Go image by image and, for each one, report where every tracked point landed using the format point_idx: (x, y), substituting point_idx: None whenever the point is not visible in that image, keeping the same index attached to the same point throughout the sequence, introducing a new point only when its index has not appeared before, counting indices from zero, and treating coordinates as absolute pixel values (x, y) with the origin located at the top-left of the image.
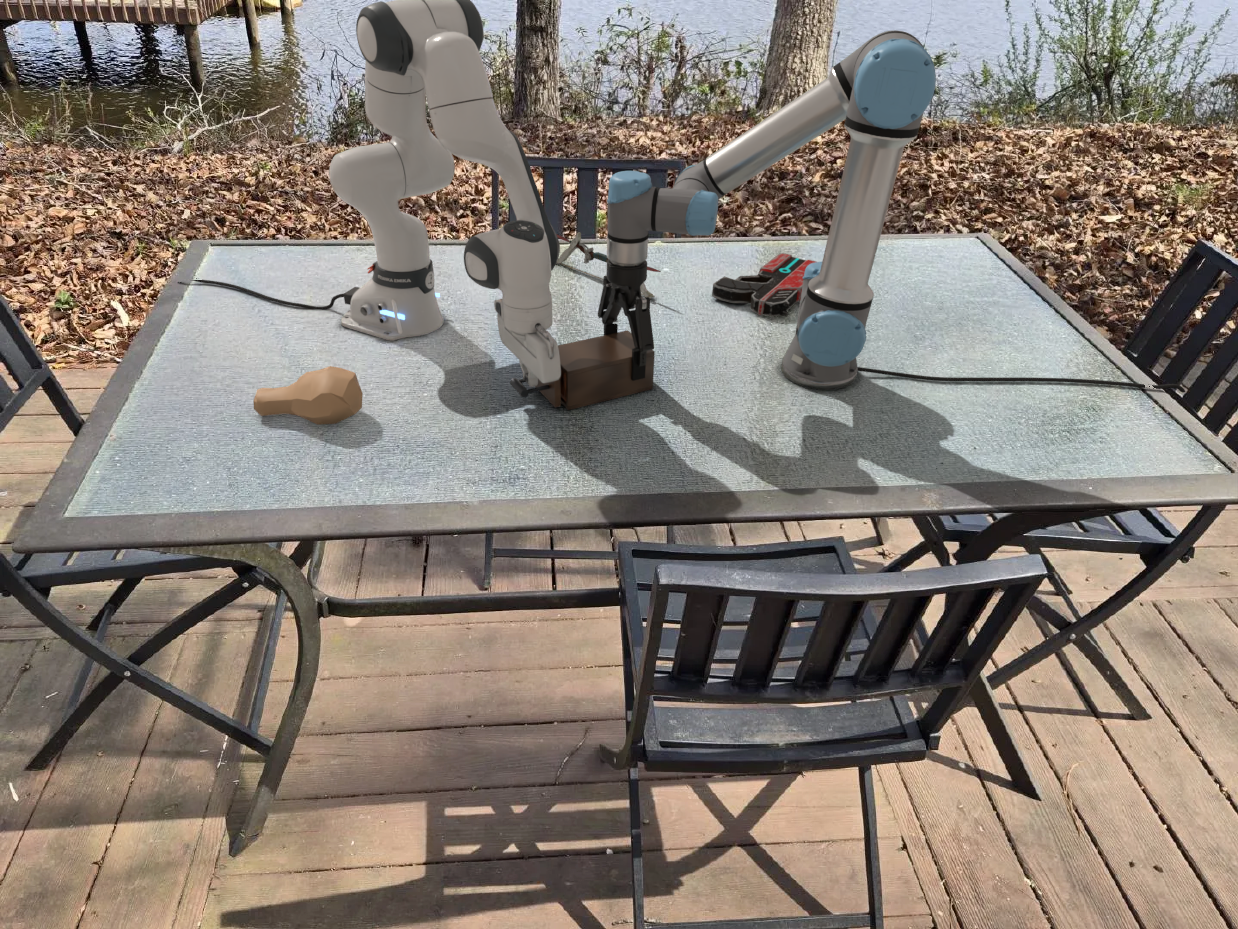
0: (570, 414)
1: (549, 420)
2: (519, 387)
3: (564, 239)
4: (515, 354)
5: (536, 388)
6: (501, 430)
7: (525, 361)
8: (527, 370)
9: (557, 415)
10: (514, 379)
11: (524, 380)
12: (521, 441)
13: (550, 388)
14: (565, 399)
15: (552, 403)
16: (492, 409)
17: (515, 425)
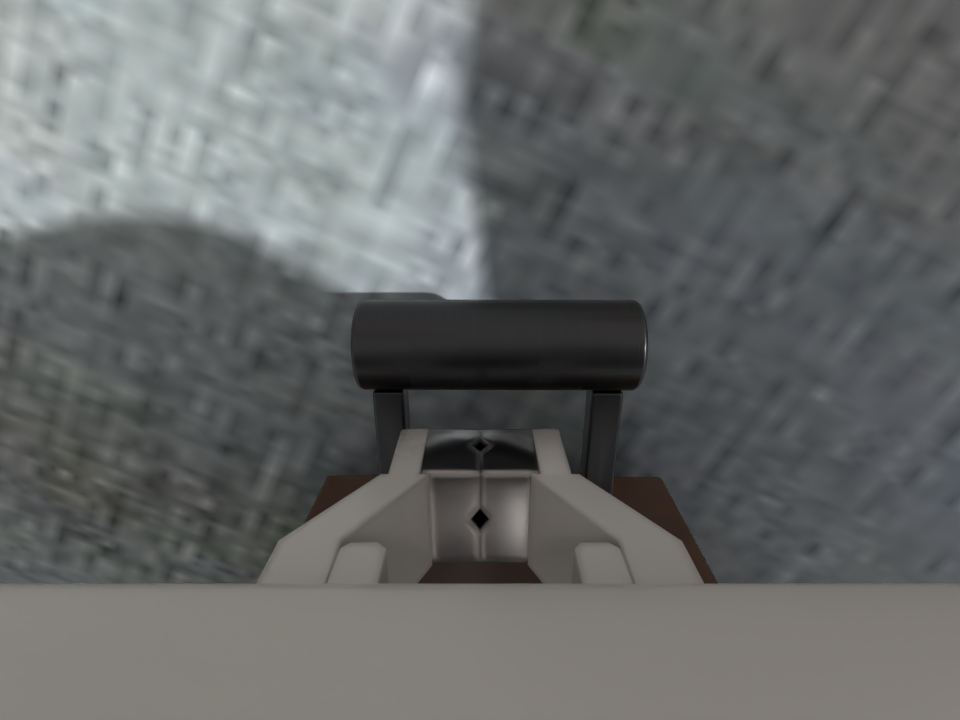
0: (279, 515)
1: (248, 388)
2: (429, 333)
3: None
4: (753, 616)
5: (385, 466)
6: (209, 4)
7: (166, 688)
8: (546, 533)
9: (292, 451)
10: (607, 354)
11: (528, 430)
12: (9, 93)
13: None
14: None
15: (365, 481)
16: (558, 74)
17: (253, 149)
